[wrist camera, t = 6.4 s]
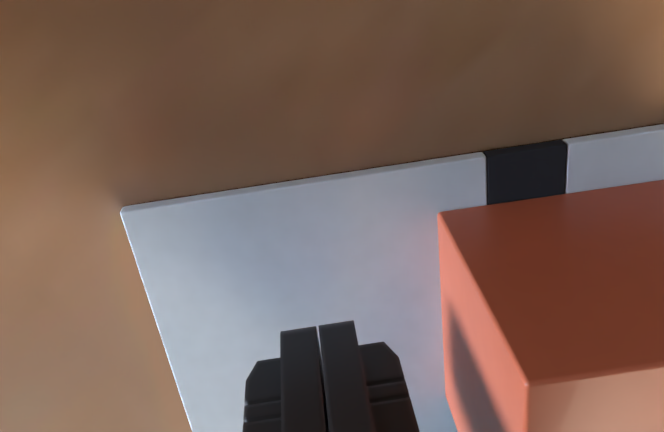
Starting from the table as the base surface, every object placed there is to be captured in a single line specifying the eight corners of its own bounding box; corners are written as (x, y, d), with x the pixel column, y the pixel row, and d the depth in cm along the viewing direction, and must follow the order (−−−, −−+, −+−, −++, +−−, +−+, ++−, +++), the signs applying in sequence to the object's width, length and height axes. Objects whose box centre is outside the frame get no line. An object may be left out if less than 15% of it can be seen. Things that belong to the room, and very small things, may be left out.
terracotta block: (436, 211, 12) (525, 384, 8) (679, 176, 12) (903, 328, 8) (444, 395, 15) (517, 609, 10) (650, 364, 15) (810, 564, 10)
